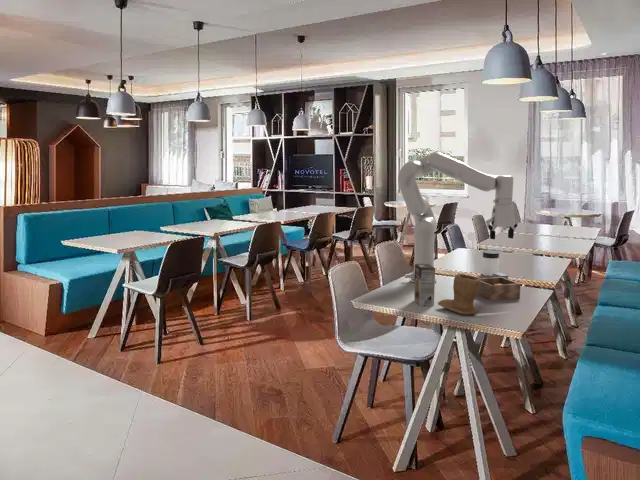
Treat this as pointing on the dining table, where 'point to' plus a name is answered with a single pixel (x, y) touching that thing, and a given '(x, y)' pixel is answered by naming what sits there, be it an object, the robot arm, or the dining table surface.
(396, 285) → the dining table surface
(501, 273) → the lid
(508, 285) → the box
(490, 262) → the jar
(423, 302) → the coffee box
